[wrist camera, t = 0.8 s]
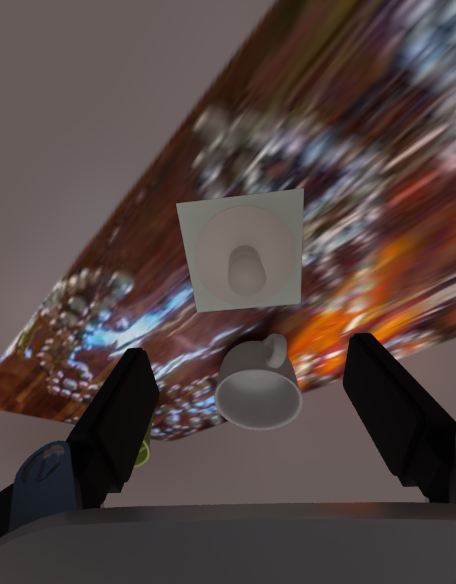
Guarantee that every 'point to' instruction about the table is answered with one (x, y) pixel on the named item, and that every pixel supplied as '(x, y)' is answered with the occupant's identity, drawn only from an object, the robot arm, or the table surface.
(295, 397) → the teacup
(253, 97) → the table surface
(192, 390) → the table surface
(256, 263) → the lid
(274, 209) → the mat
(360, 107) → the table surface
